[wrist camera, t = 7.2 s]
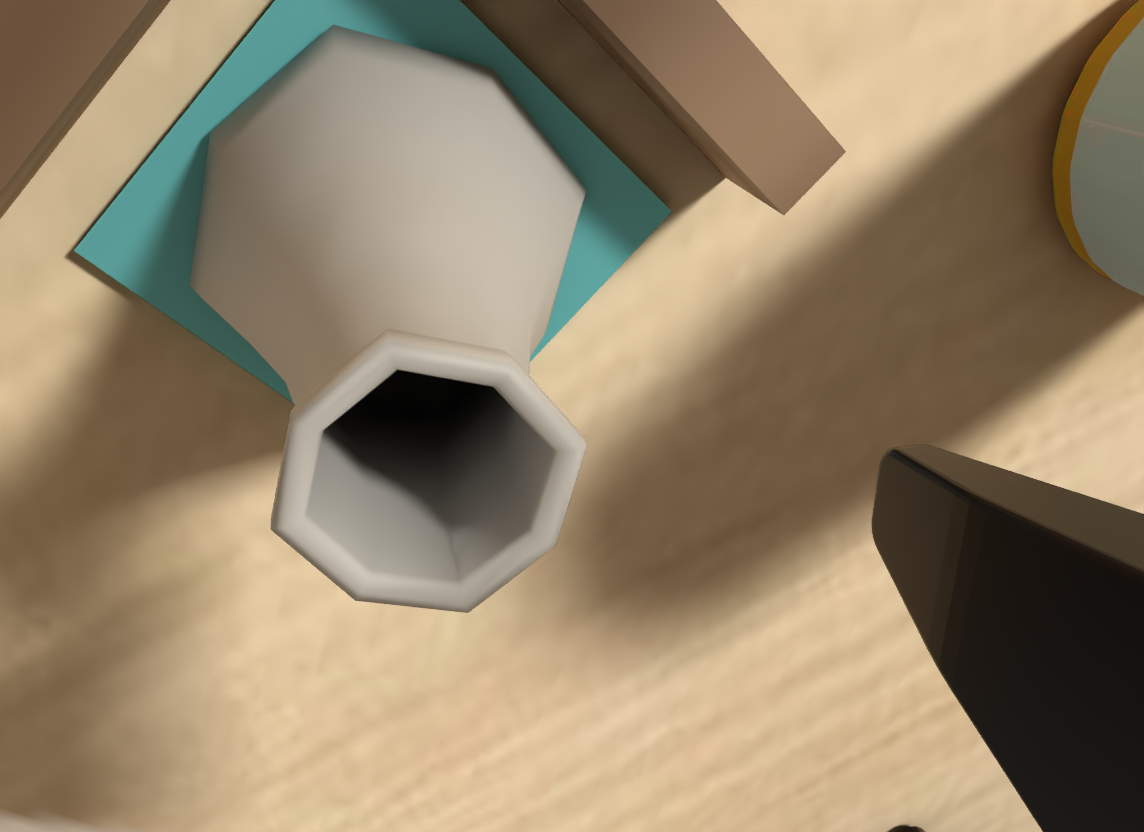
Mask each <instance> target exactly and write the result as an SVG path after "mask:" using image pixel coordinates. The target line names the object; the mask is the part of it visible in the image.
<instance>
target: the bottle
mask: <svg viewBox="0 0 1144 832" xmlns="http://www.w3.org/2000/svg"><path fill="white" fill-rule="evenodd" d="M1052 173H1053V186H1054V200H1055V208H1056V212H1057V216H1058V219H1059V221H1060V223H1061V225H1062V228H1063V230H1064V232H1065V234H1066V236H1067V239H1068V241H1069V243H1070V245H1071V247H1072V248H1073V249H1074V251H1075V252H1076V254H1077V255H1079V256H1080V257H1081V258H1082V259H1083V260H1084V261H1085V262H1086V263H1087V264H1088V265H1090V266H1091V267H1092V268H1093V269H1094V270H1095V271H1096V272H1097V273H1099V274H1101V275H1102V276H1104V277H1106V278H1108V279H1110V280H1112V281H1115V282H1116V283H1118V284H1119V285H1121V286H1123V287H1125V288H1127V289H1129V290H1131V291H1133V292H1136V293H1138V294H1140V295H1142V296H1144V0H1139V1H1138V2H1136V3H1135V4H1134V5H1133V6H1132V7H1131V8H1130V9H1129V10H1128V11H1127V12H1126V13H1125V14H1124V15H1123V16H1122V17H1121V18H1120V19H1119V21H1118V22H1117V23H1116V24H1115V25H1114V27H1113V28H1112V29H1111V30H1110V32H1109V33H1108V34H1107V35H1106V36H1105V38H1104V39H1103V40H1102V41H1101V43H1100V44H1099V45H1098V46H1097V47H1096V49H1095V50H1094V52H1093V53H1092V55H1091V56H1090V58H1089V59H1088V61H1087V62H1086V64H1085V66H1084V68H1083V70H1082V72H1081V74H1080V77H1079V79H1078V81H1077V83H1076V85H1075V87H1074V89H1073V91H1072V93H1071V95H1070V97H1069V99H1068V101H1067V103H1066V106H1065V109H1064V112H1063V115H1062V118H1061V123H1060V127H1059V132H1058V137H1057V141H1056V146H1055V151H1054V156H1053V167H1052Z"/></svg>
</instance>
